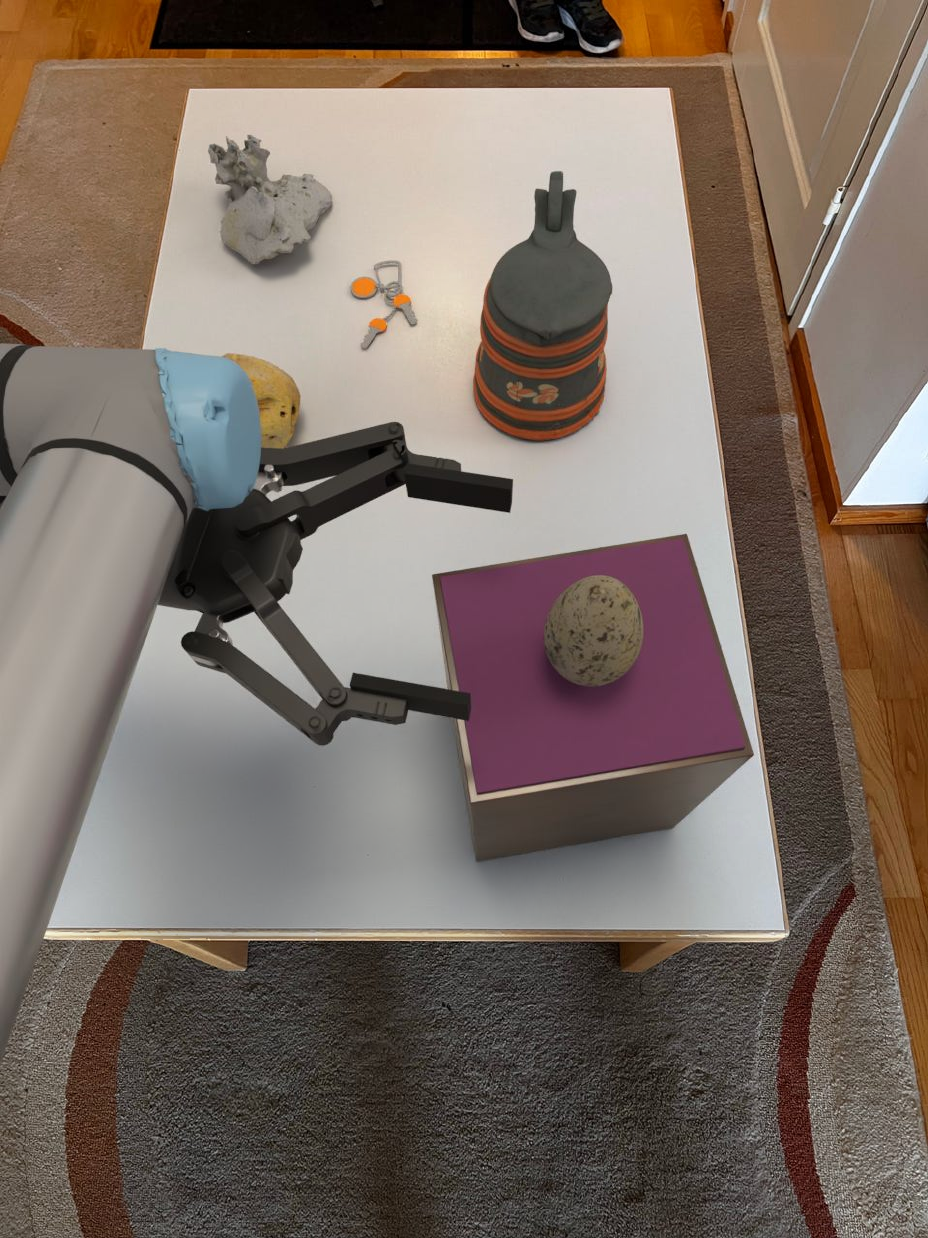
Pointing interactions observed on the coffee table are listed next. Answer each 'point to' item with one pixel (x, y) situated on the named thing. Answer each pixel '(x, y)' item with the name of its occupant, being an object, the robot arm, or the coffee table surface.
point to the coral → (264, 202)
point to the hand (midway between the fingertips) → (492, 596)
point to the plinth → (594, 799)
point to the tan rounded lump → (271, 399)
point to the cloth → (574, 714)
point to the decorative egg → (594, 631)
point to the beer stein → (544, 328)
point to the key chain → (368, 288)
